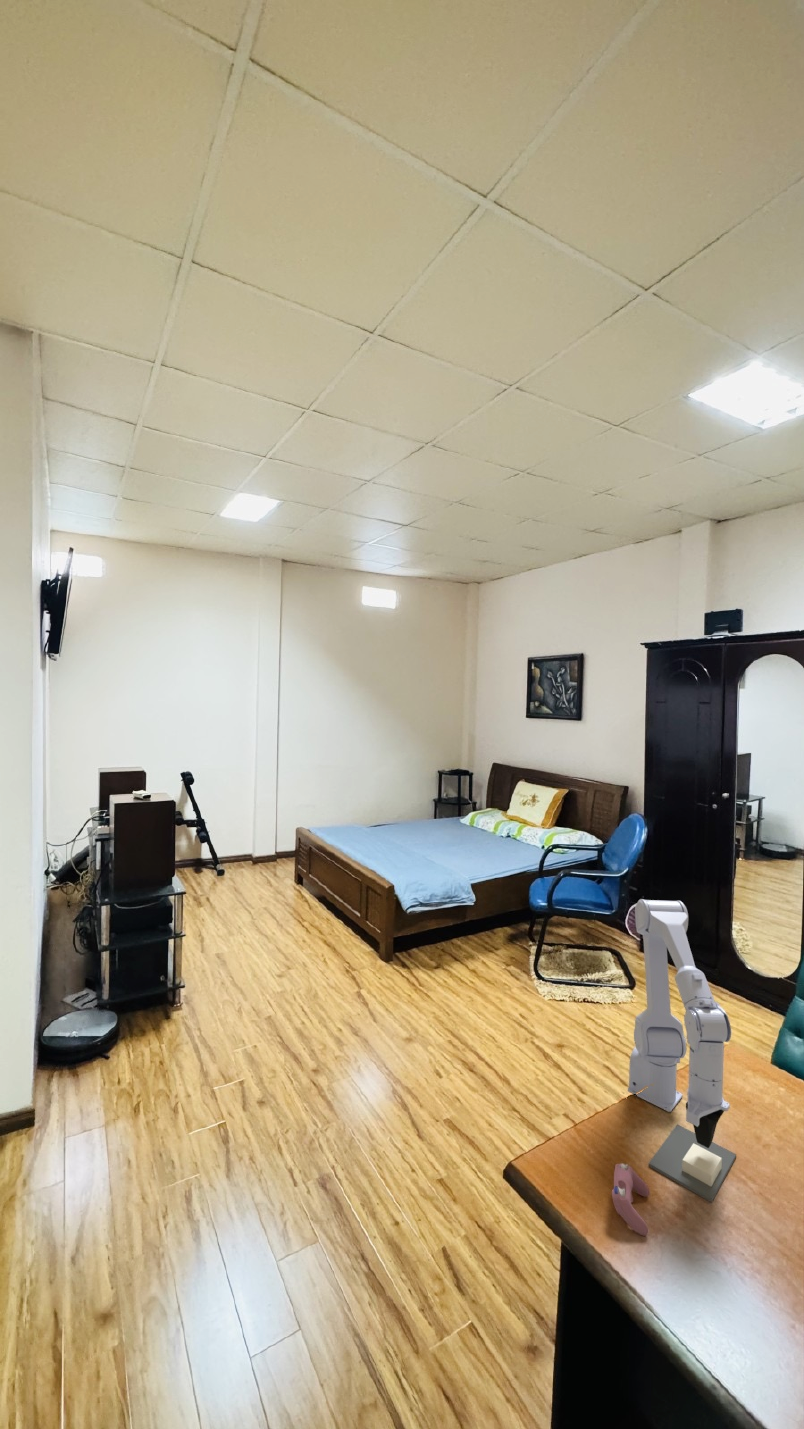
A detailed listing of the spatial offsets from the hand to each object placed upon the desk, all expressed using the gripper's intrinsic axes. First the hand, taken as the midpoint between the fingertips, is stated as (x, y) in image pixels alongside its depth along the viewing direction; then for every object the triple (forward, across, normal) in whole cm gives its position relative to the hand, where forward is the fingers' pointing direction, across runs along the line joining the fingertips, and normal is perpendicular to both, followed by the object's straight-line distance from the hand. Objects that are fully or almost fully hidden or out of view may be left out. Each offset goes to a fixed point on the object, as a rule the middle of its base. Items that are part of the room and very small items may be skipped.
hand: (703, 1143), depth 107 cm
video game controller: (+5, -19, +6) cm, 21 cm away
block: (+3, +2, 0) cm, 4 cm away
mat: (+5, 0, +2) cm, 5 cm away
